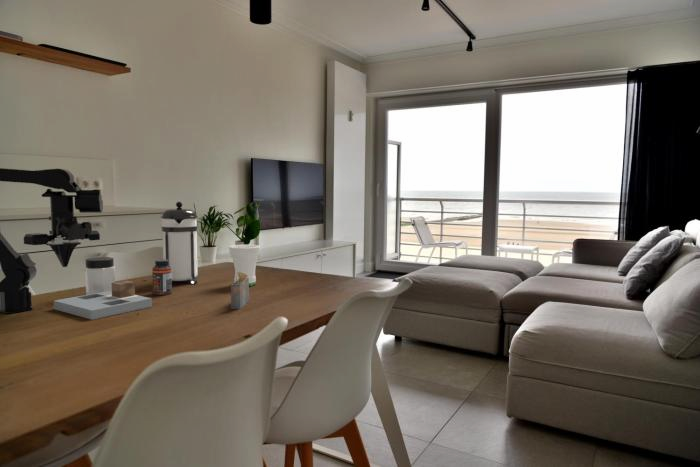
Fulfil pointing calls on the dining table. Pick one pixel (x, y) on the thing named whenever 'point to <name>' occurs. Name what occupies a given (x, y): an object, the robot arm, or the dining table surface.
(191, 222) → the coffee press
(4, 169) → the robot arm
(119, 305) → the trap deck
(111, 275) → the jar
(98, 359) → the dining table surface
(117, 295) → the walnut block
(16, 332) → the dining table surface
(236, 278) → the cup
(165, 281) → the supplement bottle
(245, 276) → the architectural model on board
